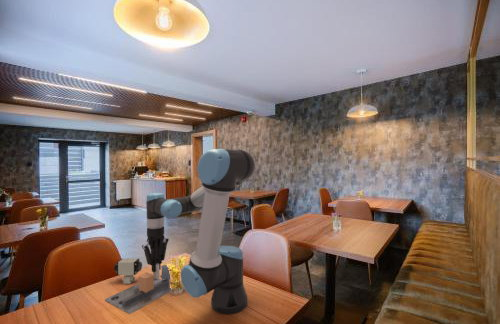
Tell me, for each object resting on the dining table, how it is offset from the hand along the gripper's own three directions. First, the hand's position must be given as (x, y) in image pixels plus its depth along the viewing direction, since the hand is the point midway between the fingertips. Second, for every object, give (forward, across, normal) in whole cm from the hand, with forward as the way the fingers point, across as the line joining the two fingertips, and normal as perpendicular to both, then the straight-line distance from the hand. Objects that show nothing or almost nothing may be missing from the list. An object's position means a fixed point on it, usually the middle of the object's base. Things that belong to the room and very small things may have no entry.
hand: (156, 277), depth 113 cm
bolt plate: (+6, +5, -3) cm, 8 cm away
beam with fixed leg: (+5, +4, -1) cm, 7 cm away
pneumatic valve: (+6, +2, -19) cm, 20 cm away
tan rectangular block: (+5, +5, -1) cm, 7 cm away
